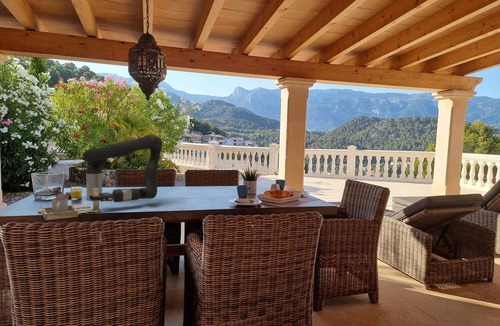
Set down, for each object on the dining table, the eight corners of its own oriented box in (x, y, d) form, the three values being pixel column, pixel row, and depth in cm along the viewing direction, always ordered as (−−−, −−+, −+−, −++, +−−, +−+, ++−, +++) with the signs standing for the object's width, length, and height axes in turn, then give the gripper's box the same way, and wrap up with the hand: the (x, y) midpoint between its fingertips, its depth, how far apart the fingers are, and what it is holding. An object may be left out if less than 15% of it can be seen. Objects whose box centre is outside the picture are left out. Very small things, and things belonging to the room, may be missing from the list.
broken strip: (37, 211, 184) (37, 209, 183) (88, 206, 199) (88, 204, 199) (38, 213, 180) (38, 211, 179) (90, 207, 195) (90, 206, 195)
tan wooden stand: (42, 213, 178) (41, 190, 177) (97, 207, 194) (96, 186, 193) (44, 220, 166) (43, 195, 165) (103, 213, 182) (102, 190, 181)
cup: (69, 213, 182) (68, 197, 182) (65, 218, 173) (65, 201, 172) (54, 213, 180) (53, 197, 179) (49, 218, 171) (49, 201, 170)
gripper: (118, 187, 200) (87, 189, 190) (125, 191, 189) (93, 194, 179) (118, 199, 201) (87, 202, 191) (125, 204, 190) (93, 207, 179)
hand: (90, 198), depth 185 cm, fingers open, 3 cm apart
